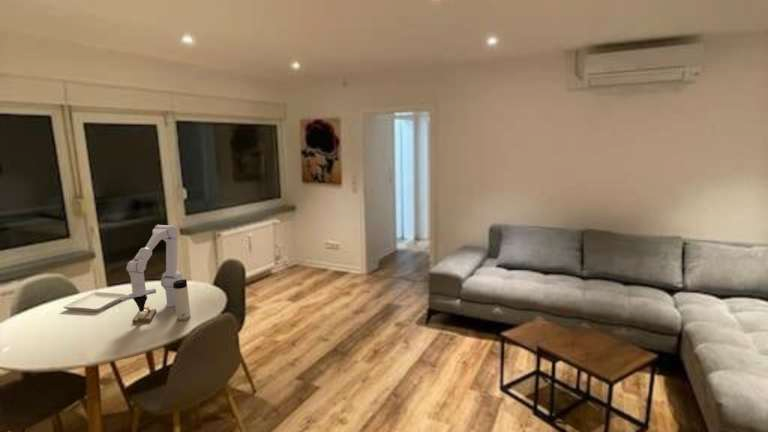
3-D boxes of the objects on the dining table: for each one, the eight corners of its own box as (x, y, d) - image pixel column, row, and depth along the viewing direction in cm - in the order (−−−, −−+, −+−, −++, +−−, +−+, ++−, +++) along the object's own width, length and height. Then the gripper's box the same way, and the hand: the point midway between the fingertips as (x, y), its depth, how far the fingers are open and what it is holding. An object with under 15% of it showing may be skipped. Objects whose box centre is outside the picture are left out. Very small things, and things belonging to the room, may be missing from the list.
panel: (156, 312, 223) (155, 309, 223) (150, 322, 212) (150, 318, 211) (139, 314, 221) (138, 310, 220) (132, 324, 209) (132, 320, 209)
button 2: (150, 311, 221) (149, 306, 221) (149, 313, 218) (148, 308, 218) (143, 312, 220) (143, 306, 220) (142, 314, 218) (141, 309, 217)
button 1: (146, 317, 214) (146, 311, 214) (145, 319, 211) (144, 314, 211) (140, 318, 213) (139, 312, 213) (138, 320, 210) (137, 315, 210)
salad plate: (98, 314, 223) (97, 308, 222) (62, 312, 226) (61, 306, 225) (128, 299, 243) (127, 293, 242) (95, 297, 246) (94, 291, 246)
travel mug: (185, 321, 212) (181, 282, 208) (174, 320, 213) (169, 281, 210) (193, 316, 218) (189, 278, 214) (182, 315, 219) (178, 277, 216)
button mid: (148, 314, 218) (147, 308, 217) (147, 316, 215) (146, 311, 214) (142, 315, 217) (141, 309, 216) (140, 317, 214) (139, 312, 214)
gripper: (151, 278, 217) (154, 304, 219) (118, 286, 206) (122, 312, 209) (156, 281, 212) (159, 307, 215) (123, 289, 202) (127, 316, 204)
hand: (141, 310), depth 211 cm, fingers closed
